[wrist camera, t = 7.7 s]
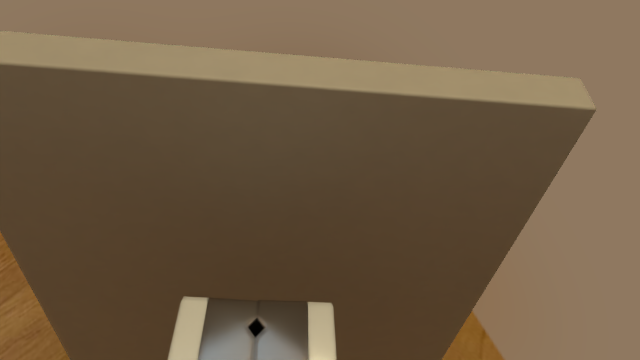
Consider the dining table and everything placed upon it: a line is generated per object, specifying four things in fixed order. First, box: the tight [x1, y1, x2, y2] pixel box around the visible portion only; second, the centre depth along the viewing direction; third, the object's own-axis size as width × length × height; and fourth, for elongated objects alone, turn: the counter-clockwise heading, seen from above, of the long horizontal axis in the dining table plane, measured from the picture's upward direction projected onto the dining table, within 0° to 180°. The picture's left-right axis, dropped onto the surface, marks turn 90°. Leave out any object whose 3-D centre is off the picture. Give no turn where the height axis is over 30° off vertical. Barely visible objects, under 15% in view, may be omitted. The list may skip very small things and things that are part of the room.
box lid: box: [0, 31, 596, 360], centre depth 16 cm, size 17×13×1 cm
